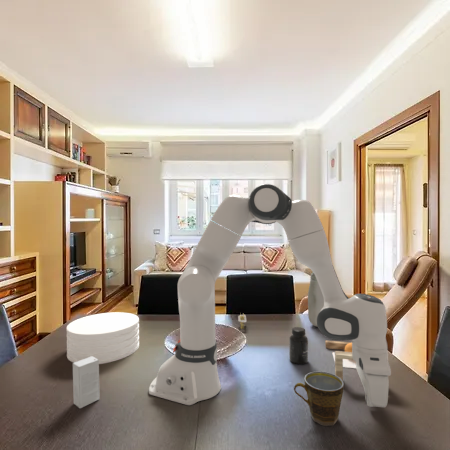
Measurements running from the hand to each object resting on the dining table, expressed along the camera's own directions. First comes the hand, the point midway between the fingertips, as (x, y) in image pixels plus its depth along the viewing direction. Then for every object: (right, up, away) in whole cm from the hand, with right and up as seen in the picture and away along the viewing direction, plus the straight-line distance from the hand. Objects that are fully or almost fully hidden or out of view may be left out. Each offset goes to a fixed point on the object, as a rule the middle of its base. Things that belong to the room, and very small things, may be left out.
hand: (369, 403), depth 83 cm
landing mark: (+7, -1, +29) cm, 30 cm away
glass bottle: (+7, -1, +67) cm, 68 cm away
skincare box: (-81, -3, +5) cm, 81 cm away
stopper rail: (+10, -1, +40) cm, 41 cm away
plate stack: (-91, -3, +43) cm, 100 cm away
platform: (-32, -2, +67) cm, 74 cm away
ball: (+9, +1, +32) cm, 33 cm away
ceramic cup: (-15, -2, -3) cm, 16 cm away
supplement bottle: (-12, -2, +30) cm, 32 cm away
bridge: (+3, -2, +14) cm, 14 cm away
